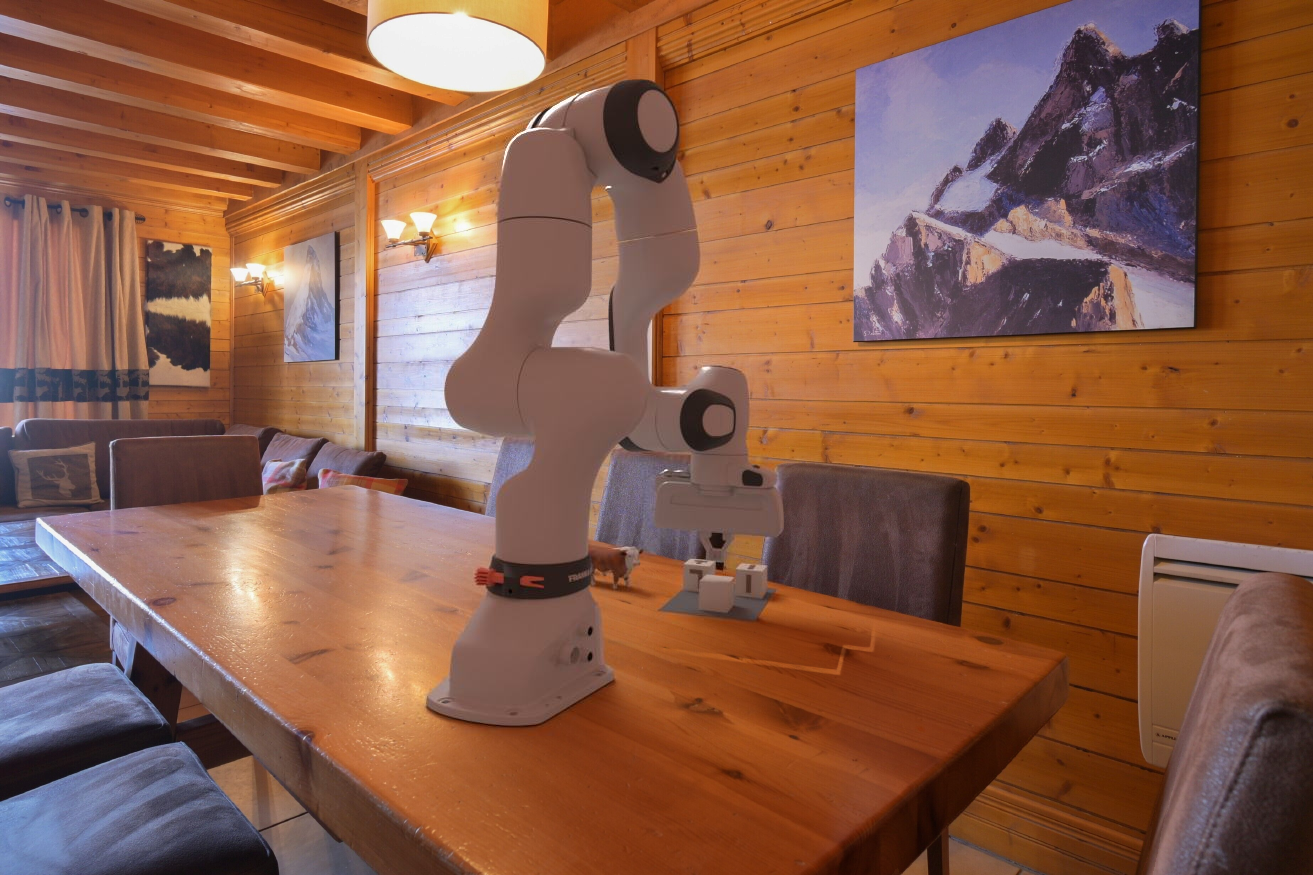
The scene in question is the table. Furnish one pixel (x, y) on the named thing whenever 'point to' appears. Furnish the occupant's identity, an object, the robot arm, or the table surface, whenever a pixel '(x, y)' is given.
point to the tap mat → (740, 611)
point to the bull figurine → (614, 562)
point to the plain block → (716, 593)
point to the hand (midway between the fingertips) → (716, 560)
